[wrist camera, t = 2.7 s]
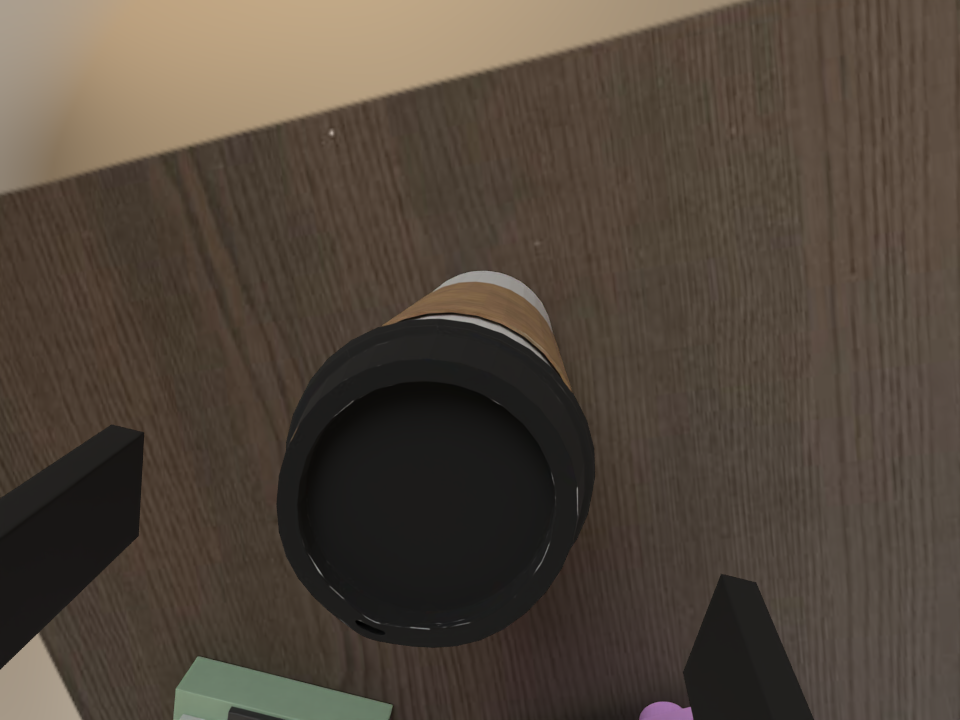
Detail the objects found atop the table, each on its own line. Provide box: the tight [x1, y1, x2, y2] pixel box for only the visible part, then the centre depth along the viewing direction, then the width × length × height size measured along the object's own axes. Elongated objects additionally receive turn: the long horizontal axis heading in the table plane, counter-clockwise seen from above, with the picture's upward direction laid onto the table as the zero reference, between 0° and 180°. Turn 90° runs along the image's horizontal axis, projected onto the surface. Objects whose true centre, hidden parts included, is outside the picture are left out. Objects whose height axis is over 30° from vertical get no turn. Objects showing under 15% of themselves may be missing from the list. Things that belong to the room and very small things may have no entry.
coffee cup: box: [277, 271, 595, 648], centre depth 24 cm, size 8×8×15 cm
